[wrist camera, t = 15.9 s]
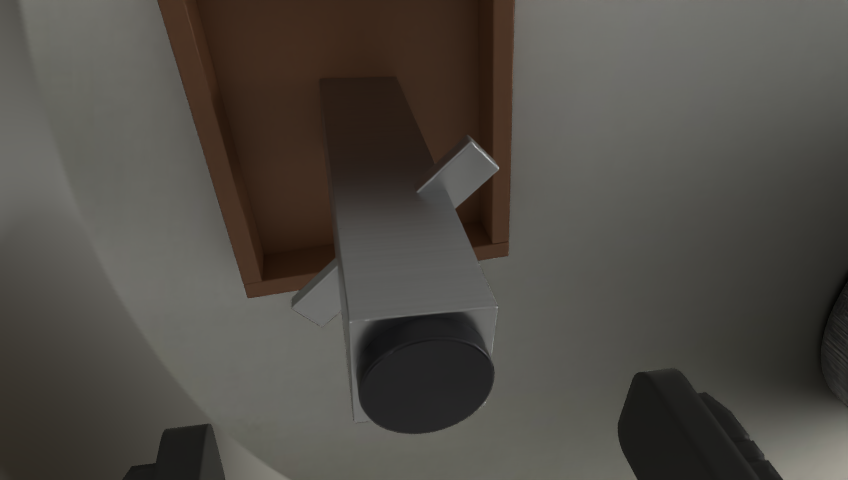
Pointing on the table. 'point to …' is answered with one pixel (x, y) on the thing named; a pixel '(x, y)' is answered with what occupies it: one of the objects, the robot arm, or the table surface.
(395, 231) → the grey square bar
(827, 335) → the planter
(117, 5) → the table surface
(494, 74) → the tray
